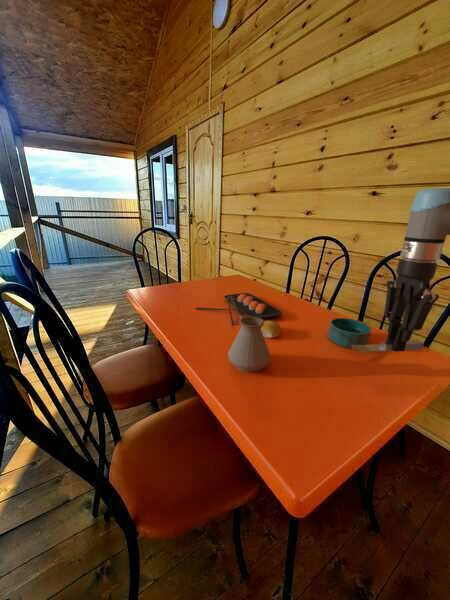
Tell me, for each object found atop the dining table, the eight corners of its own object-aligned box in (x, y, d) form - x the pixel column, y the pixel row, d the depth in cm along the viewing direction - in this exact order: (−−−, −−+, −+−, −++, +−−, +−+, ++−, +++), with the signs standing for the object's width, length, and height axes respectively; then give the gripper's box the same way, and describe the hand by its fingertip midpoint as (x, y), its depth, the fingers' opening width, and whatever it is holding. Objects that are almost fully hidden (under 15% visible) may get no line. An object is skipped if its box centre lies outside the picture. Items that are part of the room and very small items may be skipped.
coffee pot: (277, 372, 66) (283, 319, 61) (237, 380, 63) (240, 325, 58) (244, 335, 85) (247, 293, 80) (211, 340, 81) (212, 296, 77)
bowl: (352, 331, 91) (355, 317, 89) (376, 349, 80) (380, 333, 78) (320, 332, 89) (323, 318, 88) (340, 350, 78) (343, 334, 76)
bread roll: (282, 330, 90) (283, 319, 89) (277, 341, 83) (278, 329, 81) (259, 325, 93) (260, 315, 92) (252, 335, 86) (253, 324, 84)
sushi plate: (284, 318, 101) (285, 309, 100) (215, 330, 89) (215, 319, 87) (248, 296, 126) (249, 288, 124) (190, 303, 113) (190, 294, 112)
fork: (413, 345, 70) (415, 338, 70) (423, 351, 67) (425, 344, 67) (351, 347, 68) (352, 341, 67) (358, 354, 65) (360, 347, 64)
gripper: (381, 254, 66) (363, 335, 74) (432, 266, 52) (404, 364, 60) (406, 254, 67) (386, 334, 75) (464, 266, 53) (432, 362, 61)
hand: (394, 347), depth 68 cm, fingers closed on fork, 2 cm apart
